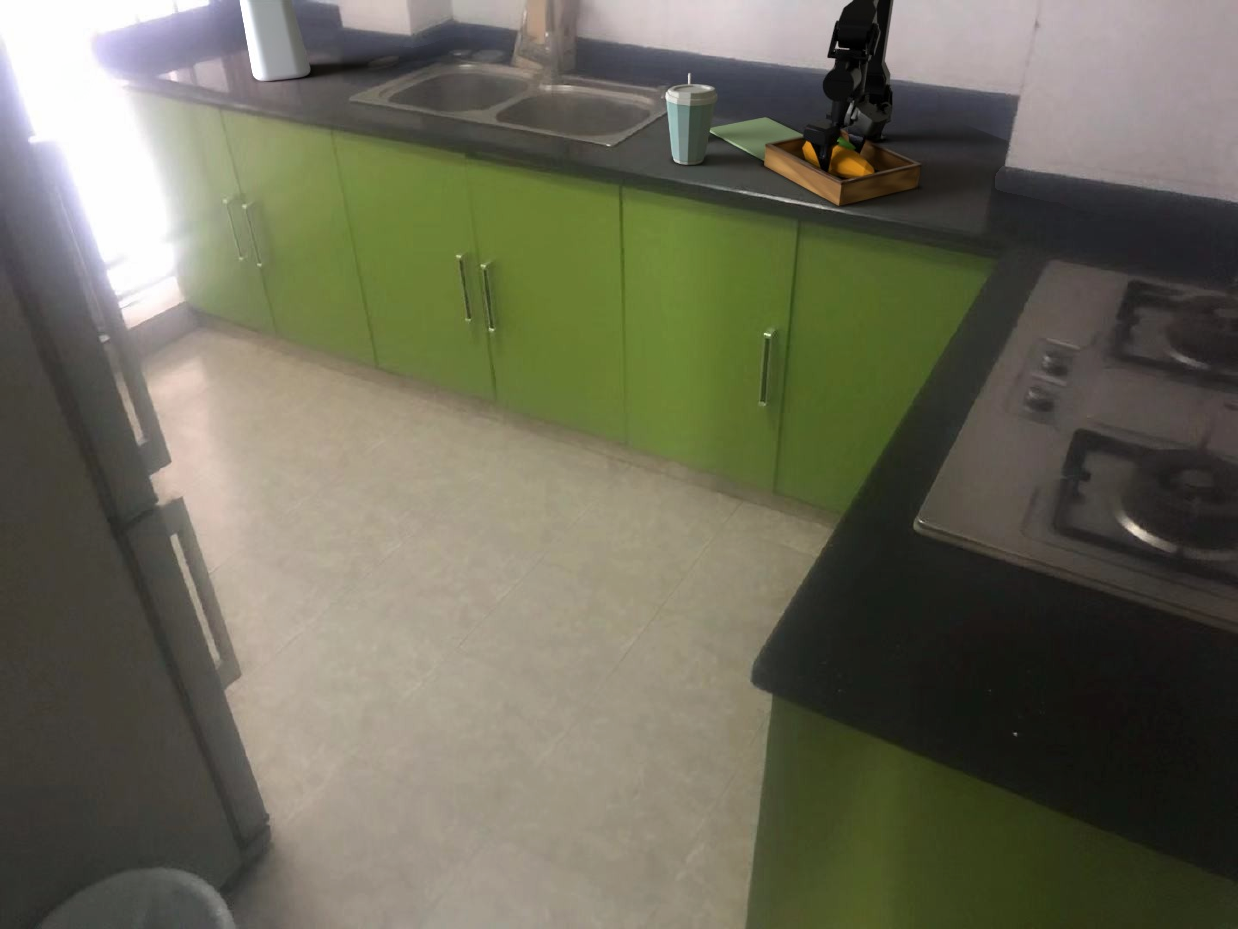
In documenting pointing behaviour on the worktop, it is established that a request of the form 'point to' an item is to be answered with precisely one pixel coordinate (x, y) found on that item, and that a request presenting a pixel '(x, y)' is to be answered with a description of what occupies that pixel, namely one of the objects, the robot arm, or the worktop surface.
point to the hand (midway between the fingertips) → (839, 167)
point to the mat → (754, 134)
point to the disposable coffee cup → (690, 121)
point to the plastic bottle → (274, 40)
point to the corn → (841, 160)
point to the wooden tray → (890, 179)
